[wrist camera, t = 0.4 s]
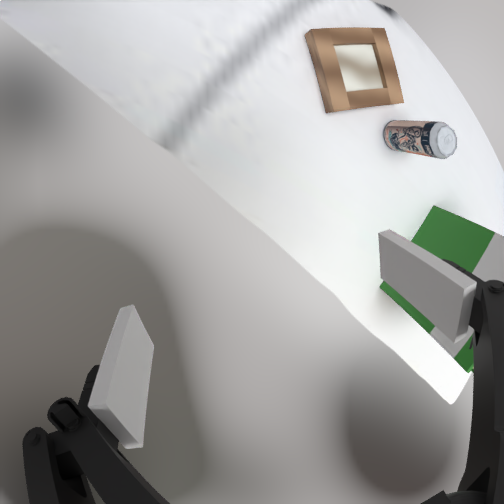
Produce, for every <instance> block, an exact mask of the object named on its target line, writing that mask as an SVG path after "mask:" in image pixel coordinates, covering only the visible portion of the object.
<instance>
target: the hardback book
mask: <svg viewBox="0 0 504 504" xmlns="http://www.w3.org/2000/svg"><path fill="white" fill-rule="evenodd" d="M411 242H413V243H414V244H416V245H418V246H420V247H421V248H423V249H425V250H426V251H428V252H430V253H431V254H433V255H435V256H436V257H438V258H440V259H446V260H449V261H453V262H454V263H456V264H458V265H459V266H460V267H463V268H464V269H466V271H469V272H471V273H472V274H474V275H475V276H477V277H478V278H480V279H481V280H483V281H485V282H486V281H488V280H499V281H502V282H504V236H502V235H500V234H497V233H495V232H493V231H491V230H489V229H487V228H485V227H483V226H480V225H478V224H476V223H474V222H471V221H469V220H467V219H465V218H462V217H460V216H458V215H455V214H453V213H451V212H448V211H446V210H443V209H441V208H438V207H436V206H433V207H432V209H431V211H430V212H429V214H428V216H427V217H426V219H425V220H424V222H423V224H422V225H421V227H420V228H419V230H418V232H417V233H416V235H415V236H414V238H413V239H412V241H411ZM380 288H381V289H382V290H383V291H384V292H386V293H387V294H388V295H389V296H390V297H391V298H392V299H393V300H394V301H395V302H396V303H397V304H398V305H399V306H401V307H402V308H403V309H404V310H405V311H406V312H407V313H408V314H409V315H410V316H411V317H412V318H413V319H414V320H415V321H416V322H417V323H418V324H419V325H420V326H421V327H423V328H424V329H425V330H426V331H427V332H428V333H429V334H430V335H431V336H432V337H433V338H434V339H435V340H436V341H437V342H438V343H439V344H440V345H441V346H442V347H443V348H444V349H445V350H446V351H447V352H448V353H449V354H450V355H451V356H452V357H453V358H454V359H455V360H456V361H457V362H458V364H459V365H460V366H461V367H462V368H463V369H464V370H465V371H466V372H468V373H469V372H470V371H472V372H473V373H474V362H473V345H472V348H471V349H469V347H470V343H471V339H472V335H473V331H474V329H473V328H472V327H471V326H469V327H468V331H467V335H466V337H464V338H463V339H461V340H460V341H458V342H456V343H455V344H454V343H453V342H452V341H451V340H450V339H449V338H448V337H447V336H446V335H445V334H443V333H442V332H441V331H440V330H439V329H438V328H437V327H436V326H435V325H434V324H433V323H432V322H430V321H429V320H428V319H427V318H426V317H425V316H424V315H423V314H422V313H421V312H419V311H418V310H417V309H416V308H415V307H414V306H413V305H412V304H410V303H409V302H408V301H407V300H406V299H405V298H404V297H402V296H401V295H400V294H399V293H398V292H397V291H396V290H394V289H393V288H392V287H391V286H390V285H389V284H387V283H386V282H385V281H383V283H382V284H381V285H380Z"/></svg>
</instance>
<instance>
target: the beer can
mask: <svg viewBox="0 0 504 504" xmlns="http://www.w3.org/2000/svg"><path fill="white" fill-rule="evenodd" d="M384 137H385V141H386V143H387V145H388V146H389V147H390V148H391V149H393V150H395V151H401V152H407V153H413V154H419V155H424V156H430V157H435V158H440V159H445V158H447V157H449V156H451V155H453V154H454V152H455V150H456V148H457V137H456V134H455V132H454V130H453V129H452V128H451V127H449V126H448V125H447V124H446V123H444V122H432V121H399V120H395V121H391V122H389V123H388V124H387V126H386V128H385V131H384Z"/></svg>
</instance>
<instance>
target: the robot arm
mask: <svg viewBox="0 0 504 504" xmlns="http://www.w3.org/2000/svg"><path fill="white" fill-rule="evenodd" d="M378 235H379V251H380V272H381V278H382V279H383V280H384V281H385V282H386V283H387V284H389V285H390V286H391V287H392V288H393V289H394V290H396V291H397V292H398V293H399V294H400V295H401V296H402V297H404V298H405V299H406V300H407V301H408V302H409V303H410V304H412V305H413V306H414V307H415V308H416V309H417V310H418V311H419V312H421V313H422V314H423V315H424V316H425V317H426V318H427V319H428V320H429V321H430V322H432V323H433V324H434V325H435V326H436V327H437V328H438V329H439V330H440V331H441V332H442V333H443V334H445V335H446V336H447V337H448V338H449V339H450V340H451V341H452V342H453V343H454V344H455V343H456V342H458V341H460V340H461V339H463V338H464V337H466V335H467V331H468V327H469V326H471V327H472V328H473V329H474V331H473V335H472V339H471V343H470V347H469V349H471V348H472V345H473V362H474V387H473V410H472V411H473V412H472V423H471V434H470V442H469V450H468V458H467V464H466V469H465V473H464V475H463V477H462V480H461V482H460V484H459V487H458V491H457V492H454V493H450V494H445V492H444V491H441V492H440V493H438V494H436V495H435V496H433V497H431V498H430V499H428V500H426V501H425V502H423V503H421V504H504V282H502V281H499V280H488V281H486V282H485V281H483V280H481V279H480V278H478V277H477V276H475V275H474V274H472V273H471V272H469V271H466V269H464V268H463V267H460V266H459V265H458V264H456V263H454V262H453V261H449V260H446V259H440V258H438V257H436V256H435V255H433V254H431V253H430V252H428V251H426V250H425V249H423V248H421V247H420V246H418V245H416V244H414V243H413V242H411V241H409V240H407V239H406V238H404V237H402V236H400V235H399V234H397V233H395V232H393V231H392V230H387V231H383V232H380V233H378ZM153 350H154V345H153V343H152V342H151V339H150V337H149V336H148V333H147V331H146V330H145V327H144V325H143V323H142V321H141V319H140V317H139V315H138V313H137V311H136V309H135V307H134V305H130V306H126V307H122V308H120V310H119V313H118V316H117V318H116V321H115V324H114V326H113V329H112V332H111V335H110V337H109V340H108V343H107V346H106V349H105V352H104V355H103V358H102V361H101V364H100V365H95V366H94V367H93V368H92V369H91V371H90V372H89V373H88V375H87V378H86V381H85V383H86V384H84V387H83V391H82V393H81V397H80V400H79V403H78V405H77V404H76V402H75V401H73V399H72V398H68V397H65V398H61V399H59V400H57V401H56V402H54V403H53V404H52V405H51V407H50V409H49V410H48V414H47V416H48V420H49V421H50V422H51V423H52V424H53V425H54V426H55V427H56V428H57V429H58V431H55V432H52V433H49V434H48V433H47V432H46V431H45V430H43V429H42V428H41V427H35V428H32V429H31V430H29V431H28V432H27V433H26V435H25V436H24V439H23V457H24V468H25V476H26V484H27V491H28V497H29V502H30V504H96V503H95V500H94V498H93V495H92V492H91V489H90V487H89V484H88V480H89V481H90V483H91V484H92V486H93V487H94V488H95V490H96V491H97V493H98V494H99V496H100V497H101V498H102V500H103V501H104V502H105V503H106V504H170V503H169V502H168V501H167V500H166V499H165V498H163V497H162V496H161V495H160V494H159V493H158V492H157V491H156V490H155V489H154V488H153V487H152V486H151V485H150V484H149V483H148V482H147V481H146V480H145V479H144V477H143V476H142V475H141V474H140V473H139V472H138V471H137V470H136V469H135V468H134V467H133V465H132V464H131V463H130V462H129V461H128V460H127V459H126V458H125V456H124V455H123V454H122V453H121V452H120V451H119V450H118V442H120V443H121V444H122V445H123V446H124V447H125V448H126V449H129V448H139V447H143V438H144V426H145V416H146V406H147V397H148V388H149V380H150V372H151V365H152V357H153ZM86 476H87V477H86ZM87 478H88V480H87Z"/></svg>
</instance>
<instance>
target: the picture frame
mask: <svg viewBox="0 0 504 504" xmlns="http://www.w3.org/2000/svg"><path fill="white" fill-rule="evenodd" d="M305 37H306V41H307V44H308V47H309V51H310V54H311V57H312V61H313V64H314V68H315V72H316V75H317V79H318V83H319V87H320V90H321V94H322V98H323V102H324V107H325V111H326V113H330V112H337V111H344V110H350V109H357V108H364V107H372V106H380V105H389V104H399V103H404V100H403V96H402V91H401V87H400V82H399V78H398V74H397V70H396V66H395V62H394V59H393V55H392V51H391V48H390V44H389V41H388V38H387V35H386V31H385V28H322V29H311V30H310V31H309V32H307V33H306V34H305Z"/></svg>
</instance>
